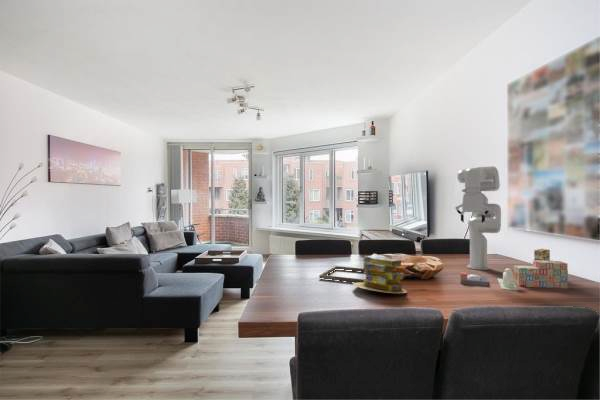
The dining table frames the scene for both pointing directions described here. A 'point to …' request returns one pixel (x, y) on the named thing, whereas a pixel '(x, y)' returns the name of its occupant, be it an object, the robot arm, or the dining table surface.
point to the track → (506, 287)
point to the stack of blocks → (542, 274)
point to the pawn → (508, 278)
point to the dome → (474, 277)
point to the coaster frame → (324, 275)
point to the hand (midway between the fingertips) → (472, 222)
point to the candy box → (542, 254)
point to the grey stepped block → (473, 282)
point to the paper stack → (382, 275)
